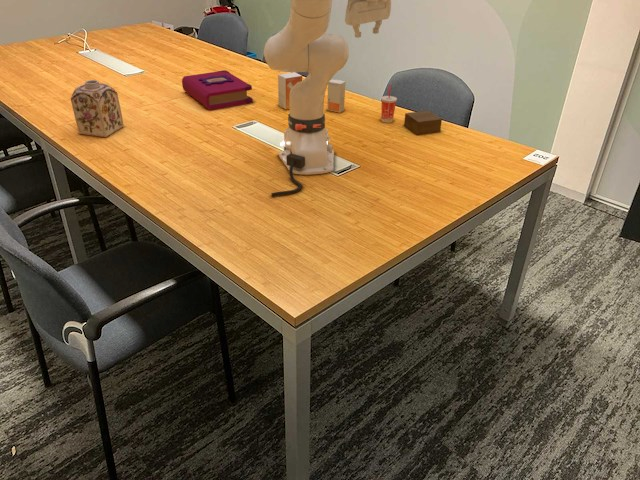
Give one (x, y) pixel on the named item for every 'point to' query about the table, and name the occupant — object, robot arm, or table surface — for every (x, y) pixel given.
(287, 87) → the small box
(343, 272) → the table surface
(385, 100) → the beverage cup
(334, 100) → the cosmetic box
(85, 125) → the decorative jar
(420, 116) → the walnut block
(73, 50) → the table surface
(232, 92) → the book
